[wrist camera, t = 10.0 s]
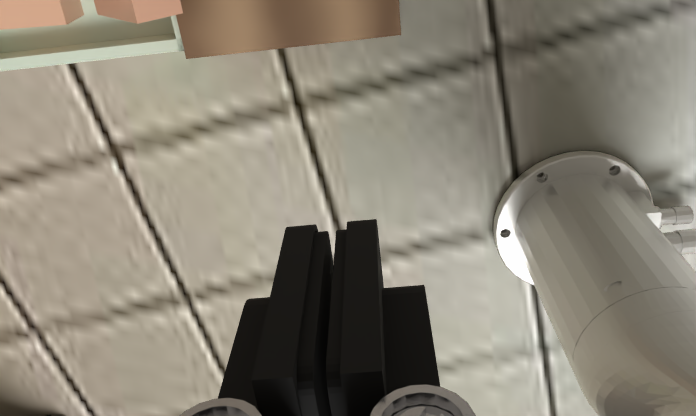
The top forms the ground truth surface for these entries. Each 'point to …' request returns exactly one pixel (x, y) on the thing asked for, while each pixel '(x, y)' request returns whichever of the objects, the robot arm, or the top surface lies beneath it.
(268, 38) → the brown flat block
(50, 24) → the tile
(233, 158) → the top surface
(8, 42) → the tray
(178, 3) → the tile
